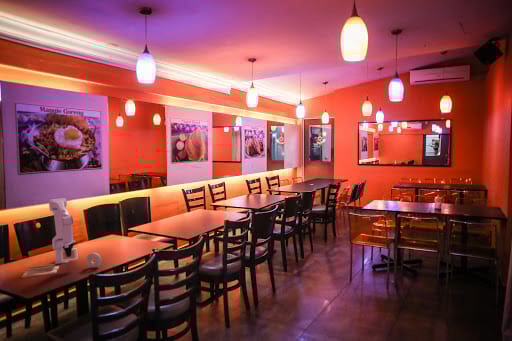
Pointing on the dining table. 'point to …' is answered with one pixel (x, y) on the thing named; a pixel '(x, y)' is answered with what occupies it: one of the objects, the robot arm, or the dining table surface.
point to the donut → (97, 258)
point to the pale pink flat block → (72, 257)
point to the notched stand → (40, 270)
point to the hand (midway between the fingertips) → (69, 255)
